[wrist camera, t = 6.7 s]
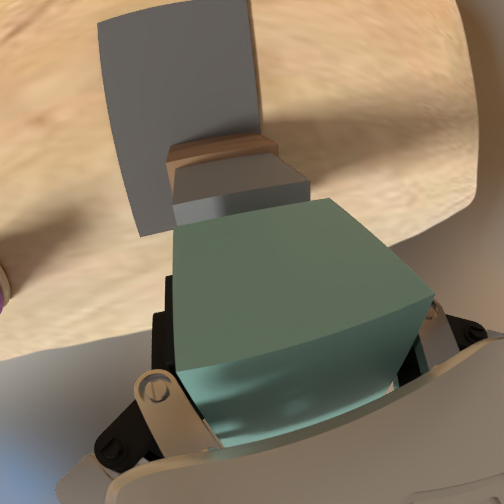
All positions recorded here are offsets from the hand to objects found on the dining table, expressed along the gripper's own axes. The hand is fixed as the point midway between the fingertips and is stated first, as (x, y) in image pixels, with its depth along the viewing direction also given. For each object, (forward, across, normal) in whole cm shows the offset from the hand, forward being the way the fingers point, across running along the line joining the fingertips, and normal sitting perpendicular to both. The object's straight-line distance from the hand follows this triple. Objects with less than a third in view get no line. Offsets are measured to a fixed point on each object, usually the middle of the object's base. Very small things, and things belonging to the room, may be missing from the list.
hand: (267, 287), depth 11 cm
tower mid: (+9, 0, 0) cm, 9 cm away
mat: (+15, +2, -6) cm, 16 cm away
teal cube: (+1, 0, 0) cm, 1 cm away
